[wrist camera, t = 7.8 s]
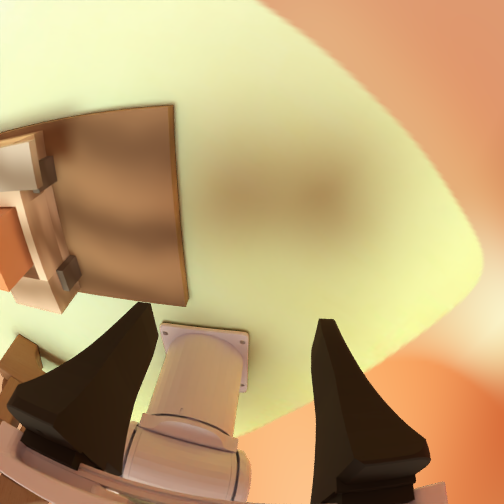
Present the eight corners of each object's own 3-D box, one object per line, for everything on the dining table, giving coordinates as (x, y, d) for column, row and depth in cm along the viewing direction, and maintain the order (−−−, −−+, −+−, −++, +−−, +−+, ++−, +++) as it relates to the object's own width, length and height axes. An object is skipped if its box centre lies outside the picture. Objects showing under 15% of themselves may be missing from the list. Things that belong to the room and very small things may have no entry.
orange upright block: (47, 250, 21) (9, 291, 17) (25, 248, 21) (-13, 286, 17) (31, 194, 19) (-16, 229, 14) (9, 195, 19) (-36, 228, 14)
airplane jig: (188, 298, 25) (171, 345, 21) (18, 274, 26) (-8, 304, 22) (173, 105, 17) (138, 117, 13) (-20, 138, 18) (-59, 158, 14)
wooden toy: (25, 357, 36) (-38, 483, 15) (18, 333, 33) (-59, 472, 11) (110, 402, 38) (61, 545, 17) (112, 382, 35) (52, 548, 14)
